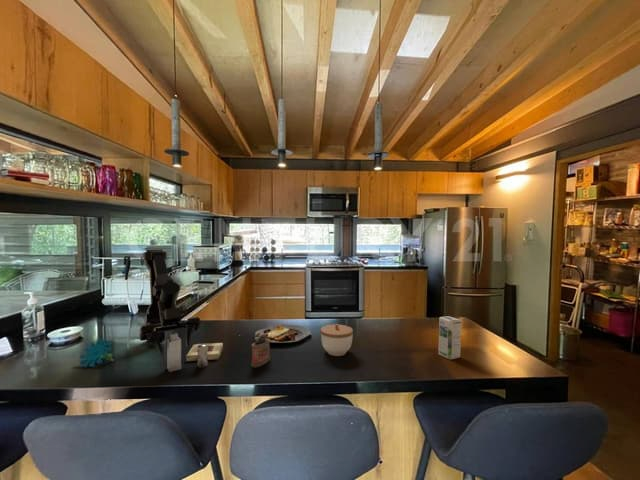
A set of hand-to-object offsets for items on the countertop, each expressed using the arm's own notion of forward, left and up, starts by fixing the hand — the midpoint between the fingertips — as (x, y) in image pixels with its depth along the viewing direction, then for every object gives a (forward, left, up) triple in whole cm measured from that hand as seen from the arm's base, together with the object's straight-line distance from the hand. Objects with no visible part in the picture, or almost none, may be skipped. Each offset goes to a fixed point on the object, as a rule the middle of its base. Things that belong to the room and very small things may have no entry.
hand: (175, 350), depth 98 cm
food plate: (+37, +27, -7) cm, 47 cm away
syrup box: (+99, -4, -7) cm, 100 cm away
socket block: (+7, +12, -7) cm, 16 cm away
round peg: (+8, +2, -7) cm, 11 cm away
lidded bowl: (+57, +6, -7) cm, 58 cm away
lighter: (+28, +1, -7) cm, 29 cm away
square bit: (-1, +1, -7) cm, 7 cm away
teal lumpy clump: (-28, +10, -7) cm, 31 cm away
